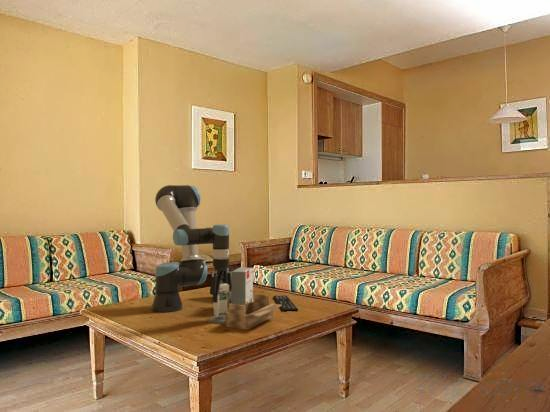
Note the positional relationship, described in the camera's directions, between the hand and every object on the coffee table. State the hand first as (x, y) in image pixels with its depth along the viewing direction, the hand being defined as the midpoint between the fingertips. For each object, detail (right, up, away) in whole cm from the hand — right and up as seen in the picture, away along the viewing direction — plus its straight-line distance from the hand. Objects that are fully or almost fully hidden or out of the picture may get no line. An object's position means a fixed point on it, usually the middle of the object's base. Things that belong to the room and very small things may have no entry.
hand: (221, 307), depth 203 cm
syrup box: (0, -4, 0) cm, 4 cm away
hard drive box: (+8, -6, +23) cm, 25 cm away
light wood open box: (+16, -6, -3) cm, 17 cm away
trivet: (0, -6, 0) cm, 6 cm away
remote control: (+30, -6, +31) cm, 44 cm away
